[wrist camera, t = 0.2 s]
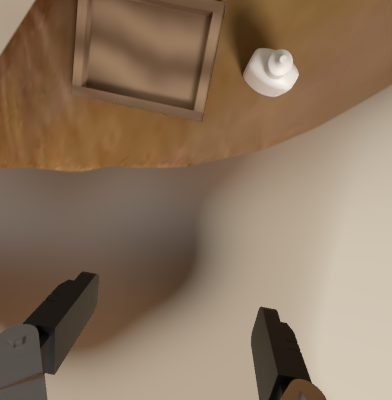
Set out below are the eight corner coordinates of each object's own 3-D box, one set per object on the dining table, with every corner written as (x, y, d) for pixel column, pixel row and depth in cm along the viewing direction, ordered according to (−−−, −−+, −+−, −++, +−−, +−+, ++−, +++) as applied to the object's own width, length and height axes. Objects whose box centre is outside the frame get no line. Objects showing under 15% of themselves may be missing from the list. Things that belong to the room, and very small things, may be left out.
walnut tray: (89, -17, 35) (79, -28, 32) (224, 10, 34) (225, 2, 32) (80, 95, 39) (71, 93, 36) (202, 122, 38) (200, 121, 36)
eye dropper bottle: (258, 107, 37) (276, 100, 26) (238, 70, 36) (247, 44, 25) (287, 89, 36) (319, 73, 25) (268, 51, 35) (291, 14, 24)
